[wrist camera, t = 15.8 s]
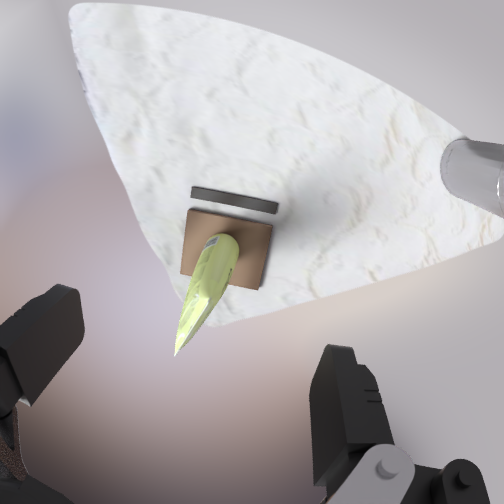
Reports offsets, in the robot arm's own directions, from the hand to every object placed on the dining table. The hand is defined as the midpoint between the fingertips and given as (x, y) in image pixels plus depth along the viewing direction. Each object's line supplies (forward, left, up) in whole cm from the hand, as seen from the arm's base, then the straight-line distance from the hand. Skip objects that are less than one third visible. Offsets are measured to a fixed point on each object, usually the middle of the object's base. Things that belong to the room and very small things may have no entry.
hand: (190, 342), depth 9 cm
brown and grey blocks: (+2, +9, -34) cm, 36 cm away
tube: (+3, +11, -34) cm, 35 cm away
